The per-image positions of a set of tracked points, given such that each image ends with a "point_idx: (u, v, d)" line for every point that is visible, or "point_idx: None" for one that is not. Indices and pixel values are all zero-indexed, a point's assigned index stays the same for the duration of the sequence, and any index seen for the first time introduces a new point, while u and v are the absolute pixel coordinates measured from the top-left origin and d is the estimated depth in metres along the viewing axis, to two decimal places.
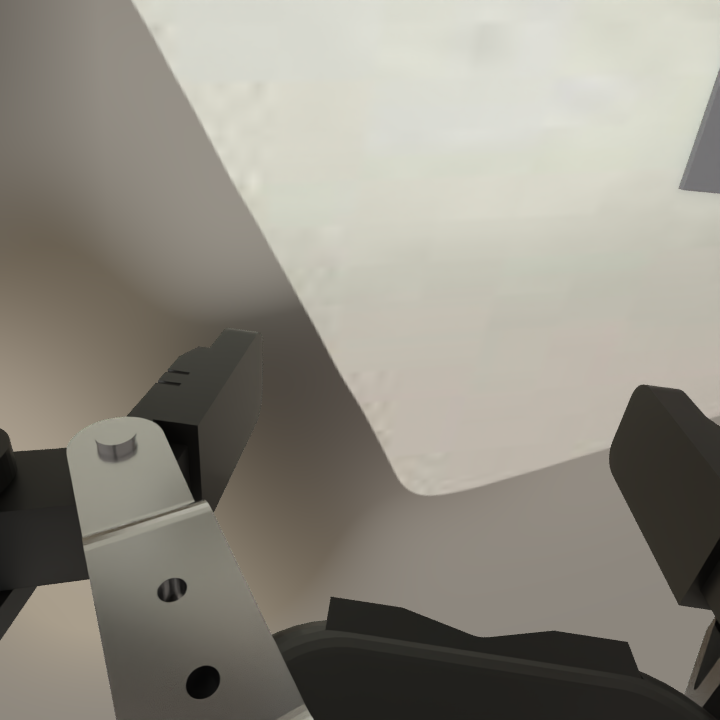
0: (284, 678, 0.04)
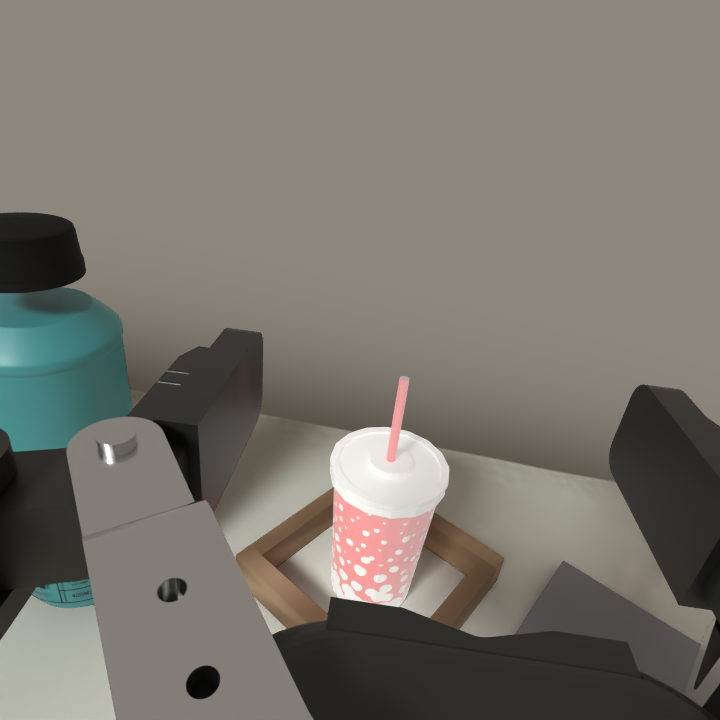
0: (284, 678, 0.04)
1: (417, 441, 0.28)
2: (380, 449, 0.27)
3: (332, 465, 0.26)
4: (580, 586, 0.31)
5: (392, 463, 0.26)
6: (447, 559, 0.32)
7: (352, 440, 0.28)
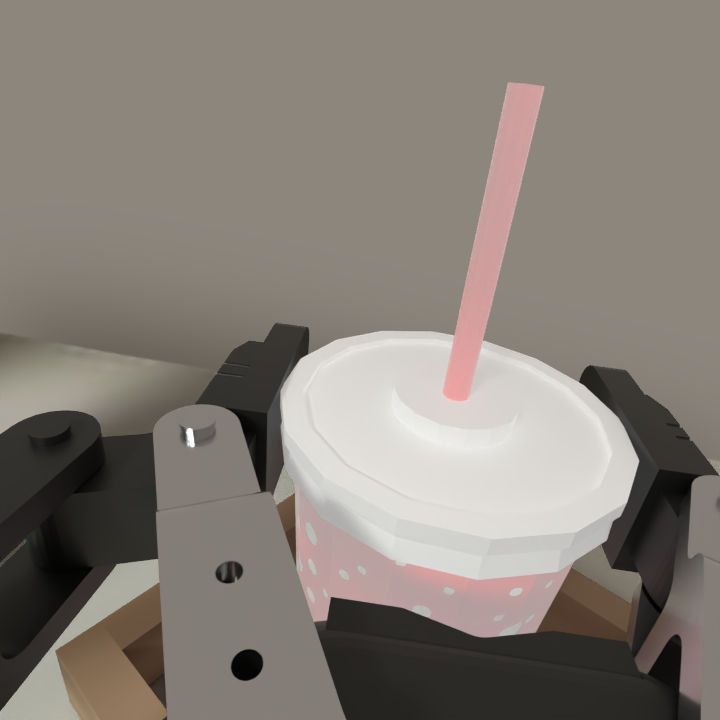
0: (323, 675, 0.04)
1: (510, 360, 0.11)
2: (423, 370, 0.10)
3: (284, 408, 0.09)
4: None
5: (462, 404, 0.09)
6: None
7: (345, 354, 0.11)
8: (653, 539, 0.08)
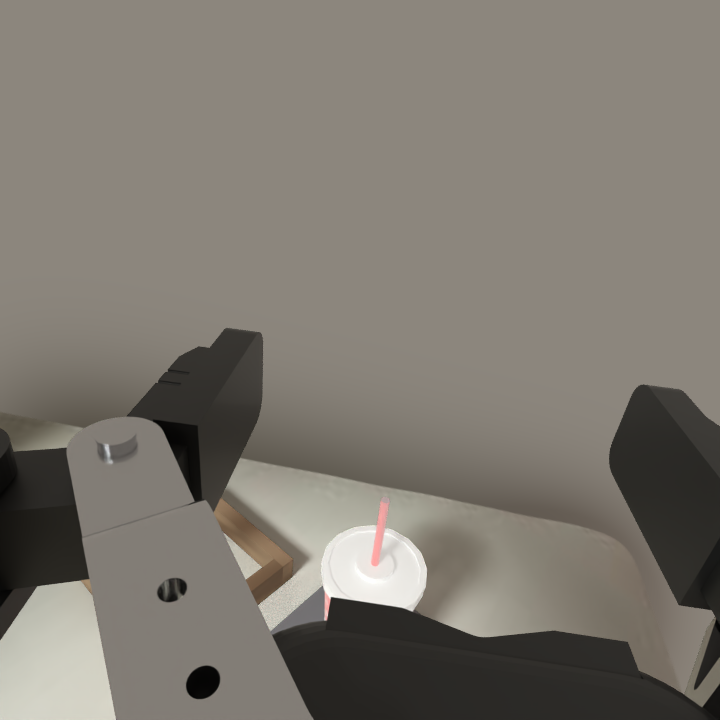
0: (284, 678, 0.04)
1: (399, 539, 0.32)
2: (366, 552, 0.30)
3: (323, 570, 0.29)
4: None
5: (376, 568, 0.29)
6: (256, 560, 0.40)
7: (341, 541, 0.31)
8: None
